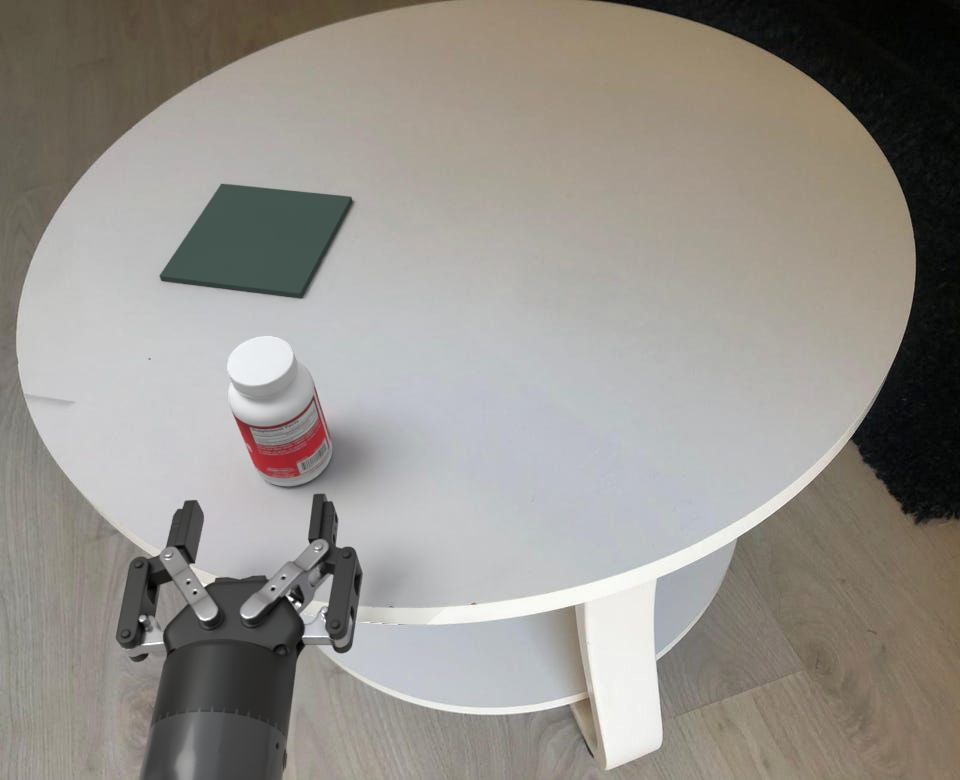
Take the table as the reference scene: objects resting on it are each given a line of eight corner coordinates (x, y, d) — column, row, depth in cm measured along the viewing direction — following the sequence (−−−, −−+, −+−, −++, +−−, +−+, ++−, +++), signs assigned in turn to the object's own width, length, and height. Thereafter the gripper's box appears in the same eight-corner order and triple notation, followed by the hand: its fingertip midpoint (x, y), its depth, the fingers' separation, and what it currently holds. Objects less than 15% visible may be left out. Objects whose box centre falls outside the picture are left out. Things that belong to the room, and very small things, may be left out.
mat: (161, 280, 92) (158, 275, 91) (222, 188, 101) (221, 183, 100) (301, 298, 89) (300, 293, 88) (352, 201, 97) (351, 196, 97)
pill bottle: (263, 426, 79) (226, 328, 71) (339, 425, 78) (310, 326, 70) (247, 490, 75) (206, 394, 67) (327, 489, 74) (296, 392, 66)
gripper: (332, 711, 52) (355, 463, 62) (65, 722, 52) (133, 475, 63) (356, 766, 57) (374, 529, 68) (115, 775, 58) (170, 539, 69)
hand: (258, 503), depth 66 cm, fingers open, 8 cm apart
